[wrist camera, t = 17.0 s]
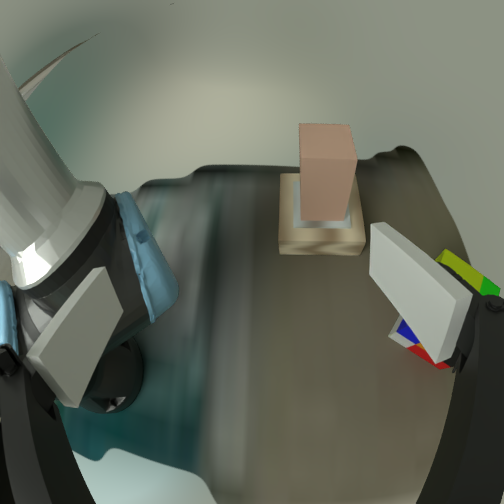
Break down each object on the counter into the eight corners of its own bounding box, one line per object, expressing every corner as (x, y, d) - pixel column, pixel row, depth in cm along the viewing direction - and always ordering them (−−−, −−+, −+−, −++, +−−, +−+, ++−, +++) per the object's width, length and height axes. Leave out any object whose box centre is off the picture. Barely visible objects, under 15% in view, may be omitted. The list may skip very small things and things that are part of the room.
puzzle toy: (387, 336, 34) (416, 319, 25) (416, 278, 37) (445, 248, 28) (439, 369, 30) (478, 360, 21) (463, 310, 33) (500, 288, 24)
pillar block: (300, 220, 38) (300, 158, 28) (299, 186, 41) (299, 123, 30) (343, 221, 37) (357, 159, 27) (339, 187, 40) (349, 124, 29)
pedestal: (279, 254, 42) (278, 239, 37) (281, 190, 47) (280, 171, 43) (359, 255, 40) (366, 240, 36) (351, 191, 45) (356, 173, 41)
